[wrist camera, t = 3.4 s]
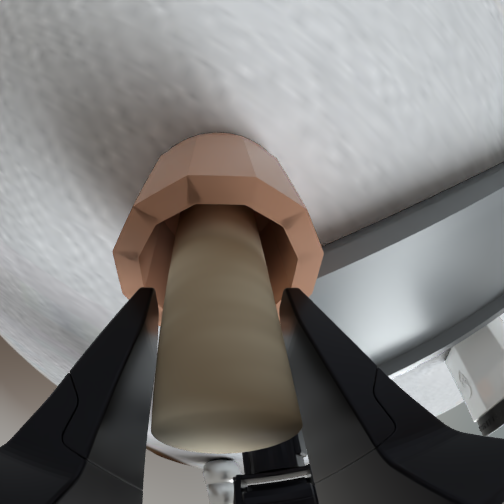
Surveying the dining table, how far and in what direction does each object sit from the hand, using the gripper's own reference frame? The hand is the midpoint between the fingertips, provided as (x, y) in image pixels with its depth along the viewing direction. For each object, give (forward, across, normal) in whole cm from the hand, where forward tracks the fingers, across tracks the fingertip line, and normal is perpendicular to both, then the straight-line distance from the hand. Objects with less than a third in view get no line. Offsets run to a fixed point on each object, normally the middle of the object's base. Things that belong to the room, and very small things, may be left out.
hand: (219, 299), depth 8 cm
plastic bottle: (+6, 0, +47) cm, 47 cm away
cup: (+6, 0, 0) cm, 6 cm away
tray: (+6, -17, +5) cm, 19 cm away
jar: (+6, -30, +15) cm, 34 cm away
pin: (+6, 0, 0) cm, 6 cm away
